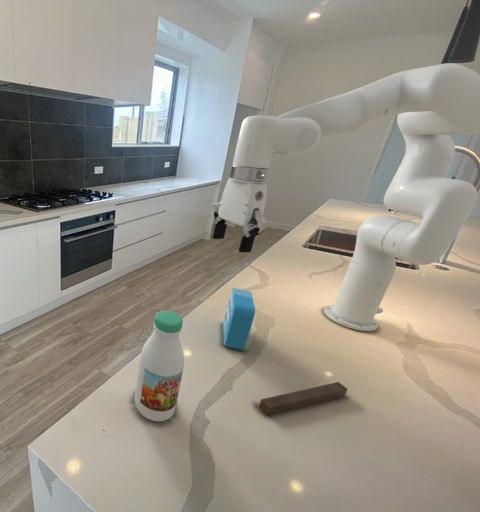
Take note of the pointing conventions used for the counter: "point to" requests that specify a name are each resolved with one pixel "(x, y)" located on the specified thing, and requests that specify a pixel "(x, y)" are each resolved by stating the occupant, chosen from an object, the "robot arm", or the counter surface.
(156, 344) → the milk bottle
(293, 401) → the strip
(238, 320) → the data package
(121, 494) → the counter surface
